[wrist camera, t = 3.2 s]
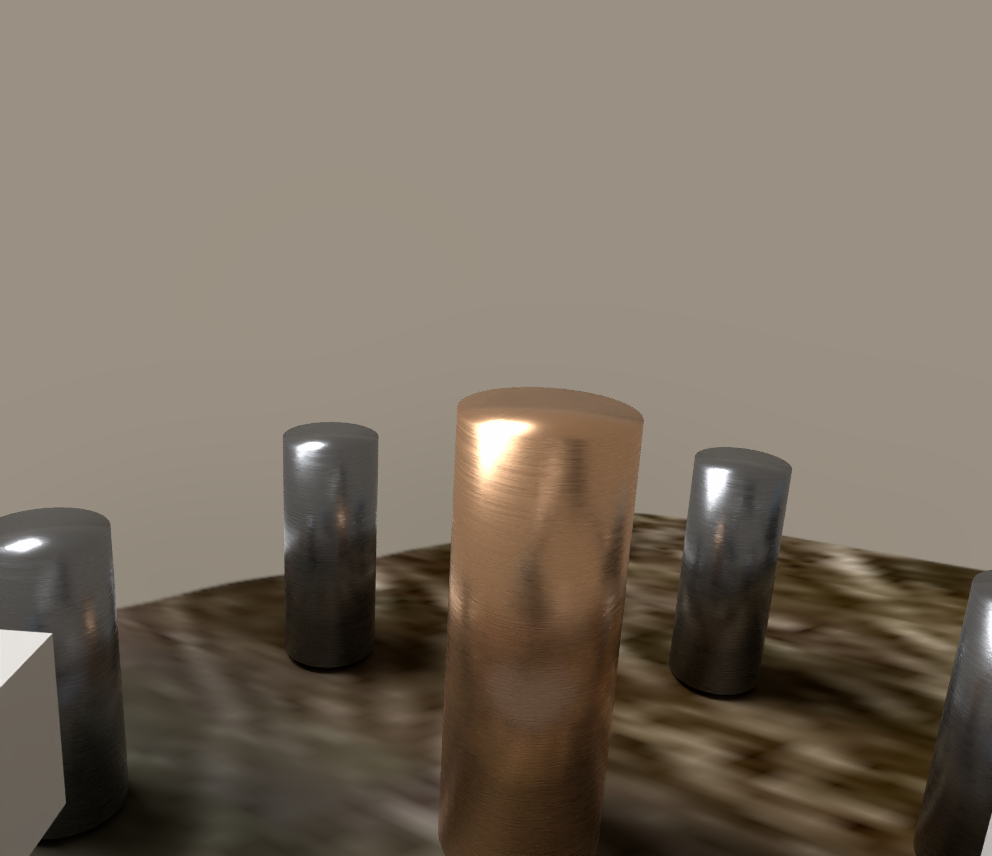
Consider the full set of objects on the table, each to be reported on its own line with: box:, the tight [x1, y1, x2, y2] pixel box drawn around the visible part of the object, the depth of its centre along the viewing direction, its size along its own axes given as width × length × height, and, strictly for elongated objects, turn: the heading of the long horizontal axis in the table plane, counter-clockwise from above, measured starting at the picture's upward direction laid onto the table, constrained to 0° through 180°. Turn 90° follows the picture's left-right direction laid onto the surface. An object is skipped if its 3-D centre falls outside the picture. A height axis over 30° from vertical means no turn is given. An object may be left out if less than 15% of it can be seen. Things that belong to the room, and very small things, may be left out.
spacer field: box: [0, 422, 992, 856], centre depth 29 cm, size 28×12×8 cm, turn 88°
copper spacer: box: [438, 387, 644, 856], centre depth 24 cm, size 4×4×12 cm
